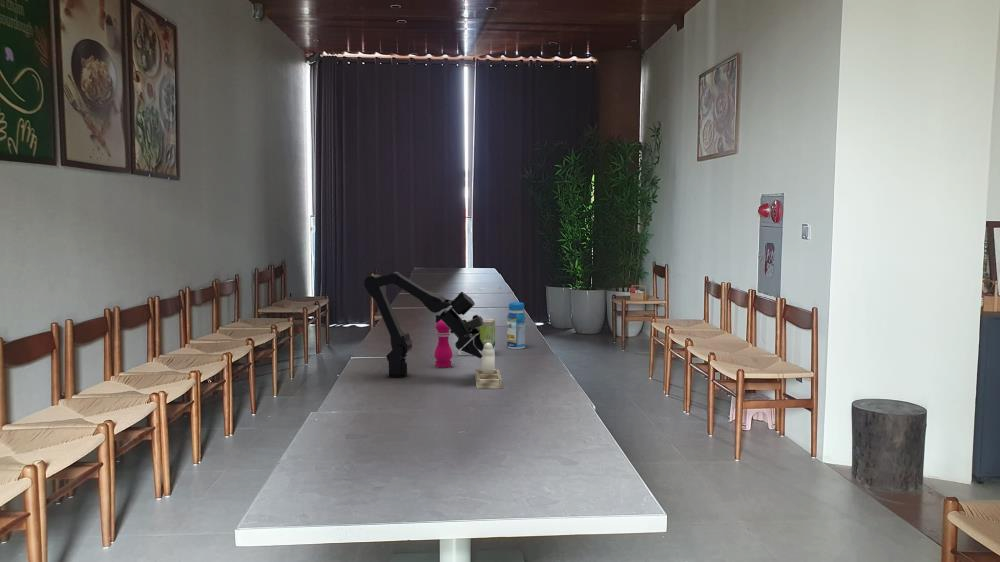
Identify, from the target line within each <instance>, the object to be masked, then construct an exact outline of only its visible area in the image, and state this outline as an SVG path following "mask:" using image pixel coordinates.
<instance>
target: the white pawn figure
mask: <svg viewBox="0 0 1000 562" xmlns="http://www.w3.org/2000/svg"><path fill="white" fill-rule="evenodd" d="M495 357H496V354H495V352H494V349H493V346H492V344H491V343H485V344H484V349H483V350H482V357H481V358H480V359H481V361H480V363H481V365H480V366H481V374H494V373H495V369H496V367H495V365H496V364H495V361H496V358H495Z"/></svg>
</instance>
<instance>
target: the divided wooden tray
mask: <svg viewBox="0 0 1000 562" xmlns="http://www.w3.org/2000/svg"><path fill="white" fill-rule="evenodd" d="M474 377H475V378H474V379H475V385H476V389H477V390H480V389H482V390H483V389H484V390H485V389H490V390H491V389H503V385H504V384H503V378H502V376H501V371H500V369H499V368H497V369H496V368H495V373H494V374H481V369H479V368H478V369H475V375H474Z"/></svg>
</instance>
